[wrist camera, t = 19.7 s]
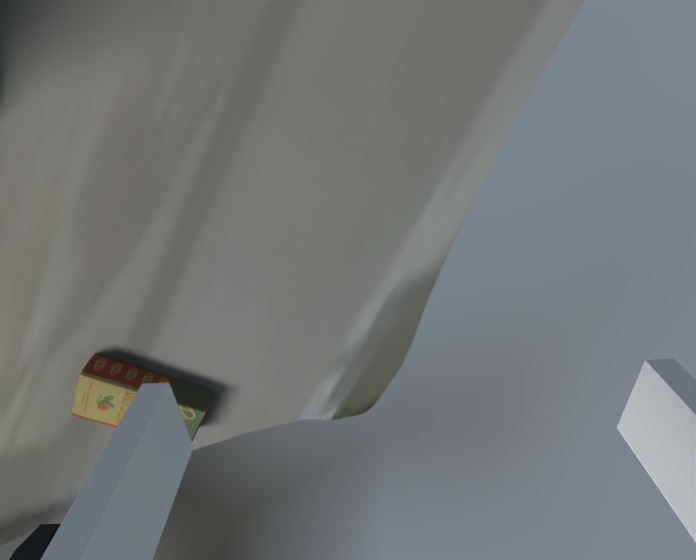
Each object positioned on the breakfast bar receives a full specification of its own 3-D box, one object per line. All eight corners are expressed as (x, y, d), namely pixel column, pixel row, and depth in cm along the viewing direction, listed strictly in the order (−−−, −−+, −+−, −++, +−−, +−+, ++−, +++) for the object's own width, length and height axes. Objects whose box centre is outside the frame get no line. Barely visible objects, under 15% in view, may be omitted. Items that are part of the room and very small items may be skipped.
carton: (96, 350, 54) (78, 374, 50) (215, 389, 57) (207, 414, 54) (85, 392, 57) (68, 416, 54) (198, 426, 61) (189, 451, 57)
